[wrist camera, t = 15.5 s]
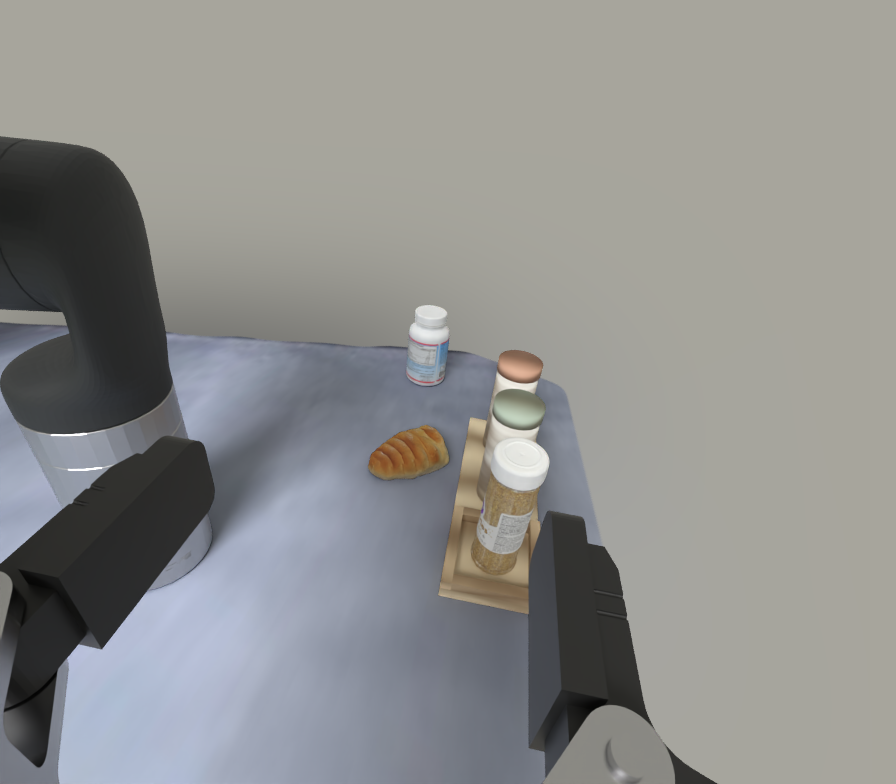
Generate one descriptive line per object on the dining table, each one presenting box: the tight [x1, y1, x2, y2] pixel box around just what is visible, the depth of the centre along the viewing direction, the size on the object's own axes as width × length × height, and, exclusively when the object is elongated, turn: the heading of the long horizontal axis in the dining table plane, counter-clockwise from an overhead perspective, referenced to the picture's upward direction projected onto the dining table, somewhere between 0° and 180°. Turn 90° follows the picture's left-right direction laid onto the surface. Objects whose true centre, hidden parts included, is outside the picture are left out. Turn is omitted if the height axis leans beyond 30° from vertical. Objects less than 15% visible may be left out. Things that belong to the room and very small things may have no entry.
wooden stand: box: [438, 350, 546, 614], centre depth 48 cm, size 26×9×14 cm, turn 171°
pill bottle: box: [406, 305, 450, 386], centre depth 68 cm, size 6×6×11 cm
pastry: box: [368, 425, 449, 480], centre depth 54 cm, size 9×7×4 cm
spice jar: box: [471, 437, 549, 575], centre depth 40 cm, size 5×5×13 cm
